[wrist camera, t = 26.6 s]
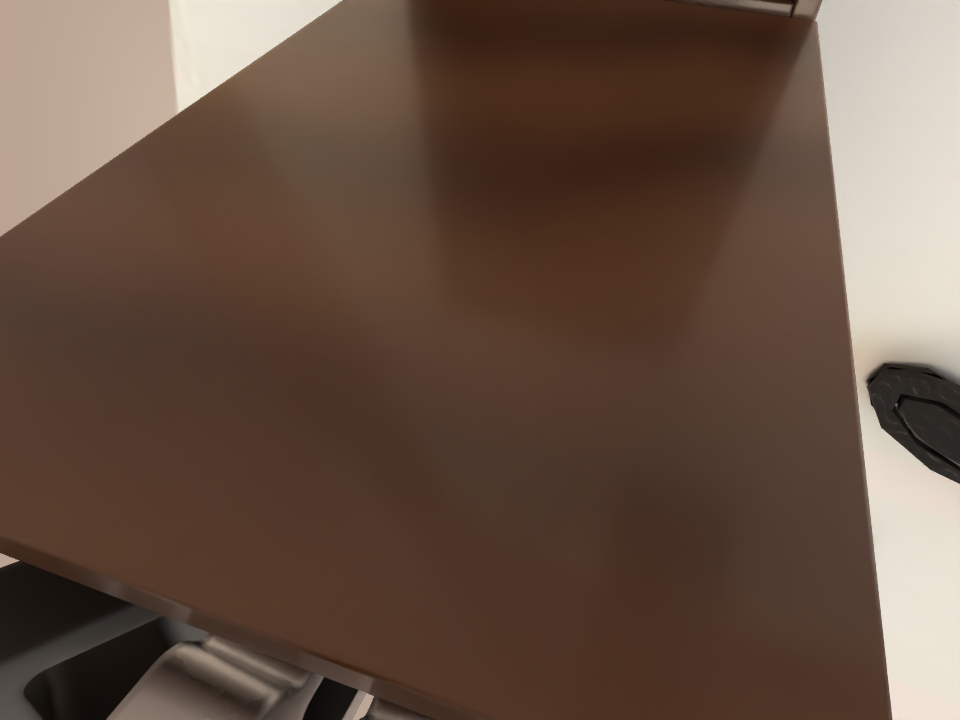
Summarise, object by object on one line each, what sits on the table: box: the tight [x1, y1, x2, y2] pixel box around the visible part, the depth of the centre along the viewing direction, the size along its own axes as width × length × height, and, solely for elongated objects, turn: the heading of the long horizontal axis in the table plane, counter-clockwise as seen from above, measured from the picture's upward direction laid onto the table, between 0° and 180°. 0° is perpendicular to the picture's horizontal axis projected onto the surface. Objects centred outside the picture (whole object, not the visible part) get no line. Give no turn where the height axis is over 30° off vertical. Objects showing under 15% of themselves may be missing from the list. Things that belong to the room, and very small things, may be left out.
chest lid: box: [0, 0, 892, 720], centre depth 11 cm, size 17×11×1 cm
